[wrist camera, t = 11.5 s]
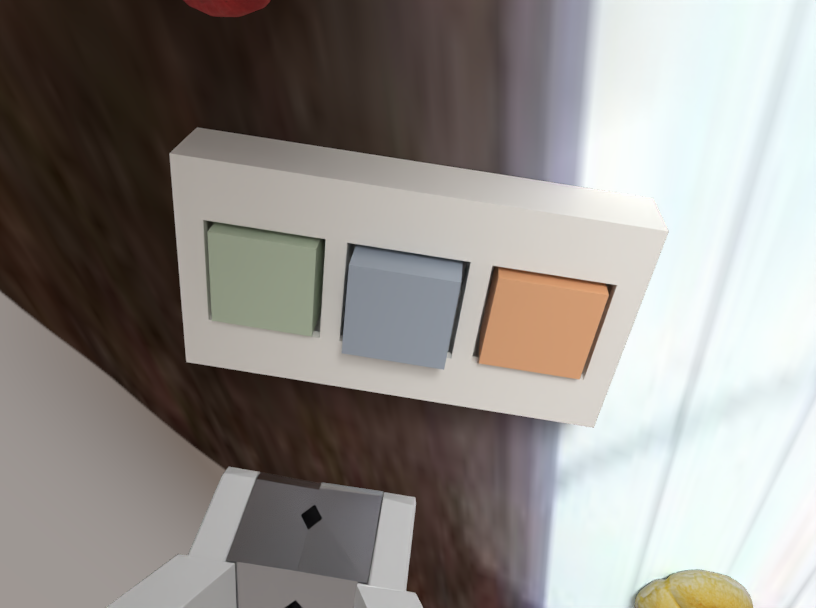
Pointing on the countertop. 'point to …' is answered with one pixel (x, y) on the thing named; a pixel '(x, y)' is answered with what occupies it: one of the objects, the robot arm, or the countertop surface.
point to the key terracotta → (540, 322)
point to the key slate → (400, 306)
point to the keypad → (416, 233)
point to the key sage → (265, 278)
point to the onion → (227, 7)
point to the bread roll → (694, 592)
